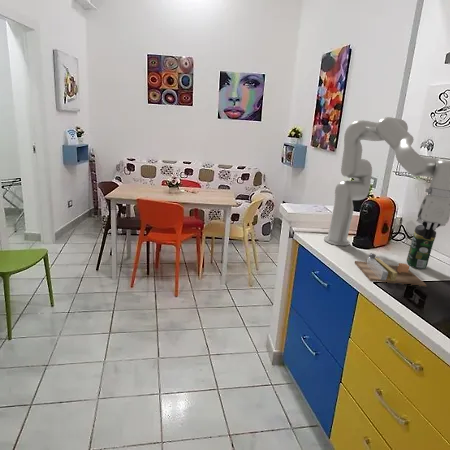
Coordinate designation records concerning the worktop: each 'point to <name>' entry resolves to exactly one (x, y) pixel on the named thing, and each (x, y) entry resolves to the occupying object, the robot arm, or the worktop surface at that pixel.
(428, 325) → the worktop surface
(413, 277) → the board
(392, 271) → the tong jaw
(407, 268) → the lock tab
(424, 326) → the worktop surface
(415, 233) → the coffee jar
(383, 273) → the tongs base
